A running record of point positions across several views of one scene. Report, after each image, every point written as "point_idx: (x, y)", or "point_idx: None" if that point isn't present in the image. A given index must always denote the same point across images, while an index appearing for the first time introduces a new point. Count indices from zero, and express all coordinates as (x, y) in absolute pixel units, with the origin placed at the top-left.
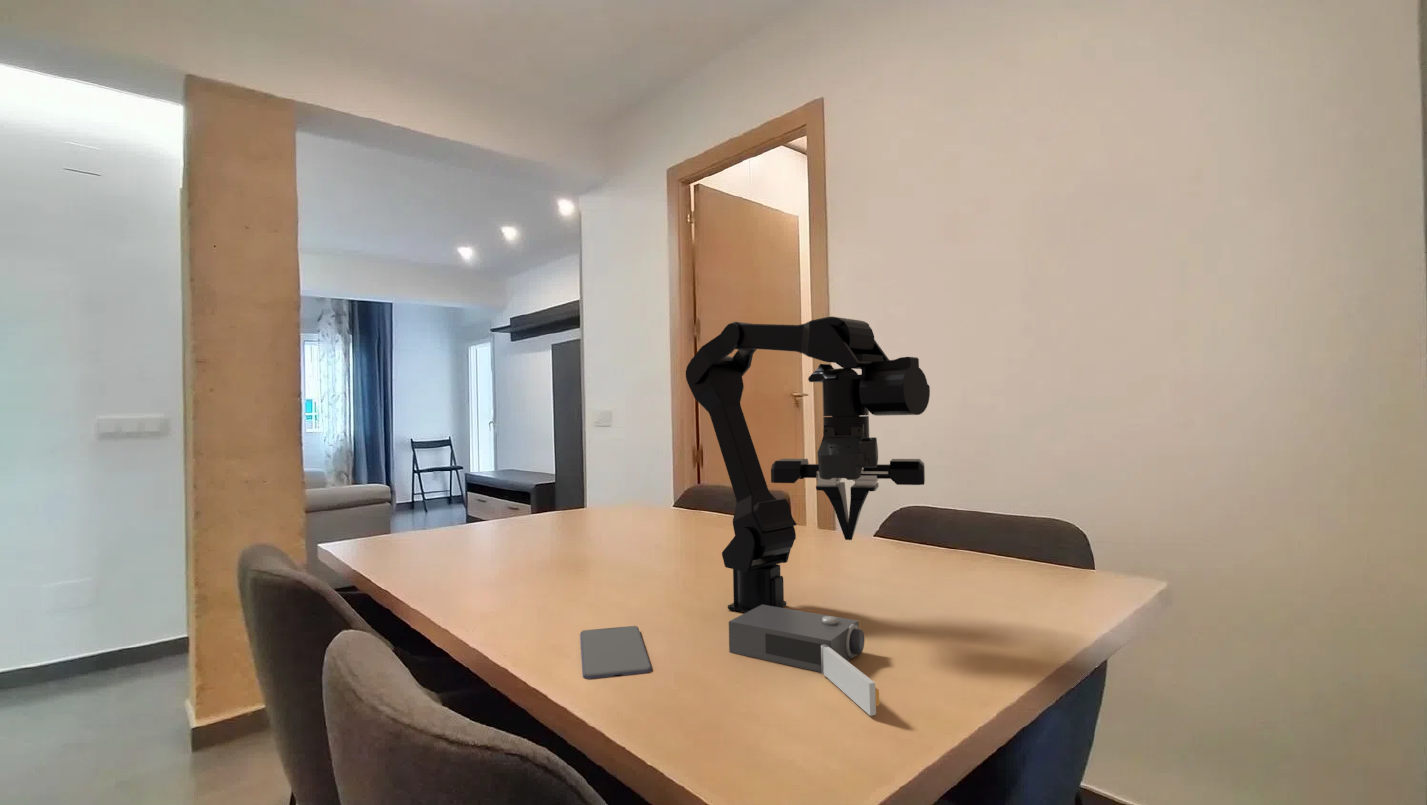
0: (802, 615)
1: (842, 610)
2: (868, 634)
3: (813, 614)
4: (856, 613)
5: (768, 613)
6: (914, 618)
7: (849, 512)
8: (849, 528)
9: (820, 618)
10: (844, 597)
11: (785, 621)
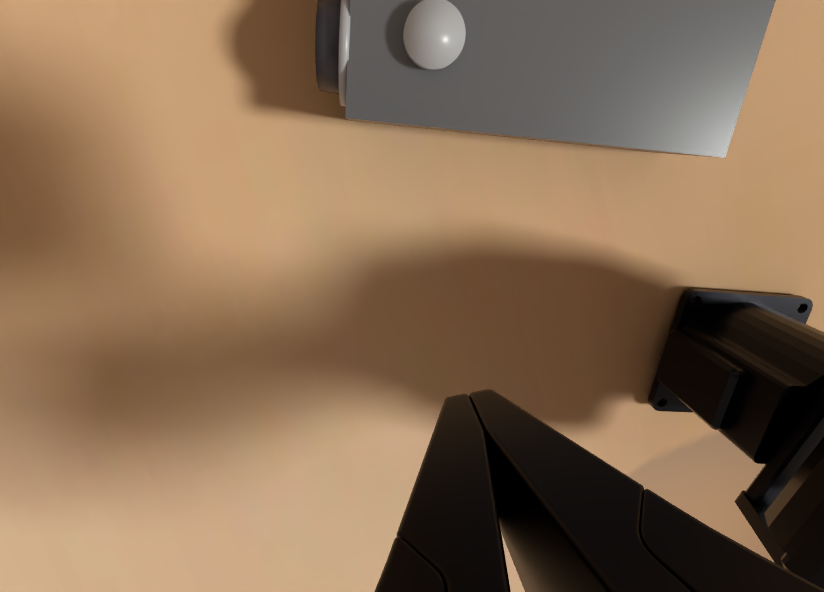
0: (553, 85)
1: None
2: (371, 276)
3: (518, 116)
4: None
5: (681, 53)
6: (299, 447)
7: (498, 537)
8: (470, 435)
9: (480, 77)
10: None
11: None
